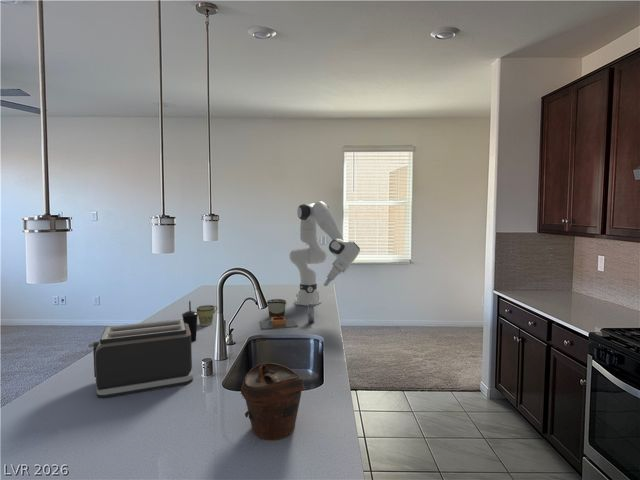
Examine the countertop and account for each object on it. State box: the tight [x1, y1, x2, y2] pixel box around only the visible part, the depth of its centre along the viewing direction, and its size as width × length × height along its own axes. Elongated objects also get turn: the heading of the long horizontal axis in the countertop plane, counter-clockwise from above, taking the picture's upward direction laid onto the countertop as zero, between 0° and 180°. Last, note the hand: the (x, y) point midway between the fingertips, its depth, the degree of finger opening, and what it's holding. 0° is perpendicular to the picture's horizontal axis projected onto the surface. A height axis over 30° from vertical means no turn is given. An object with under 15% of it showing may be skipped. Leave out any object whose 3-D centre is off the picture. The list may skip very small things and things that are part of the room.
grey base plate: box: [259, 316, 299, 330], centre depth 220 cm, size 14×20×4 cm
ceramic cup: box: [196, 304, 218, 327], centre depth 222 cm, size 13×10×10 cm
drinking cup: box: [181, 300, 199, 343], centre depth 192 cm, size 8×8×20 cm
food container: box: [266, 298, 288, 318], centre depth 238 cm, size 12×6×10 cm, turn 84°
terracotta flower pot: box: [240, 362, 306, 441], centre depth 114 cm, size 18×20×18 cm
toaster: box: [87, 318, 194, 399], centre depth 145 cm, size 19×35×20 cm, turn 113°
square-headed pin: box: [307, 302, 316, 324], centre depth 224 cm, size 4×4×11 cm
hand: (325, 285), depth 222 cm, fingers open, 8 cm apart
